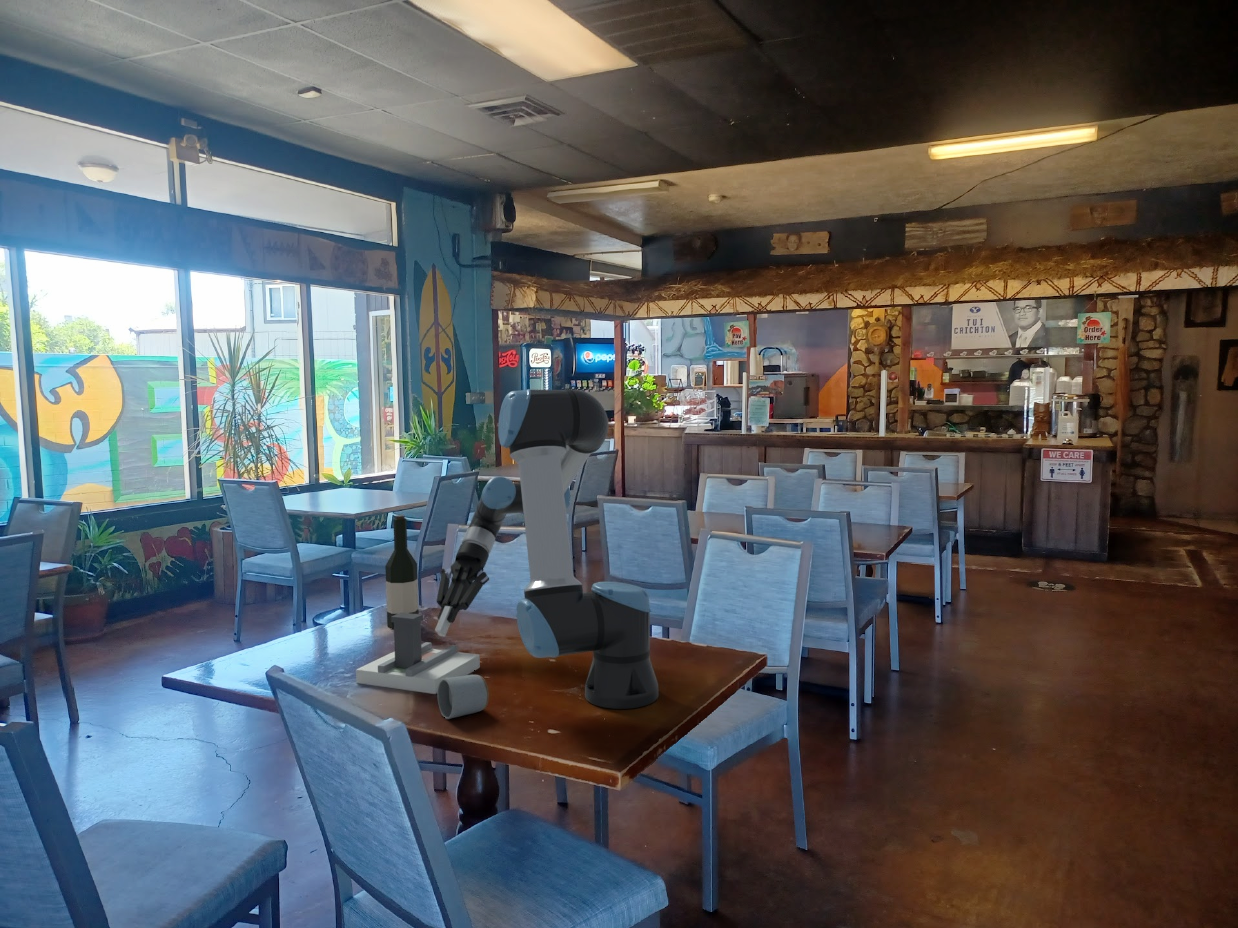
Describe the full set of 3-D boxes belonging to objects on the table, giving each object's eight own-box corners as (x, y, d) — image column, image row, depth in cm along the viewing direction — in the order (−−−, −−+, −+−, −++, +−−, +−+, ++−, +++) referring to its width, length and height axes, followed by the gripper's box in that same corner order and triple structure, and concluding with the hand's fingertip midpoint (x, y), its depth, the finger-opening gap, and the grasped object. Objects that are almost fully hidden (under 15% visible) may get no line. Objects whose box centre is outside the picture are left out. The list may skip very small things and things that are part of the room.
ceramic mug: (491, 714, 161) (490, 675, 161) (453, 724, 156) (451, 684, 156) (467, 699, 170) (466, 662, 169) (430, 708, 165) (428, 670, 164)
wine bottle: (386, 622, 228) (383, 514, 225) (417, 619, 230) (414, 512, 228) (387, 630, 220) (384, 518, 217) (420, 627, 222) (416, 517, 220)
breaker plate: (479, 667, 189) (479, 648, 189) (435, 693, 172) (434, 672, 172) (406, 658, 196) (405, 639, 196) (356, 682, 180) (355, 662, 179)
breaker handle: (424, 664, 181) (422, 614, 180) (414, 669, 178) (413, 618, 177) (402, 662, 183) (401, 612, 182) (392, 667, 180) (391, 616, 179)
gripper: (503, 559, 206) (470, 644, 192) (458, 556, 211) (422, 638, 196) (492, 542, 201) (457, 627, 187) (446, 539, 205) (408, 622, 191)
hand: (439, 633), depth 192 cm, fingers closed
